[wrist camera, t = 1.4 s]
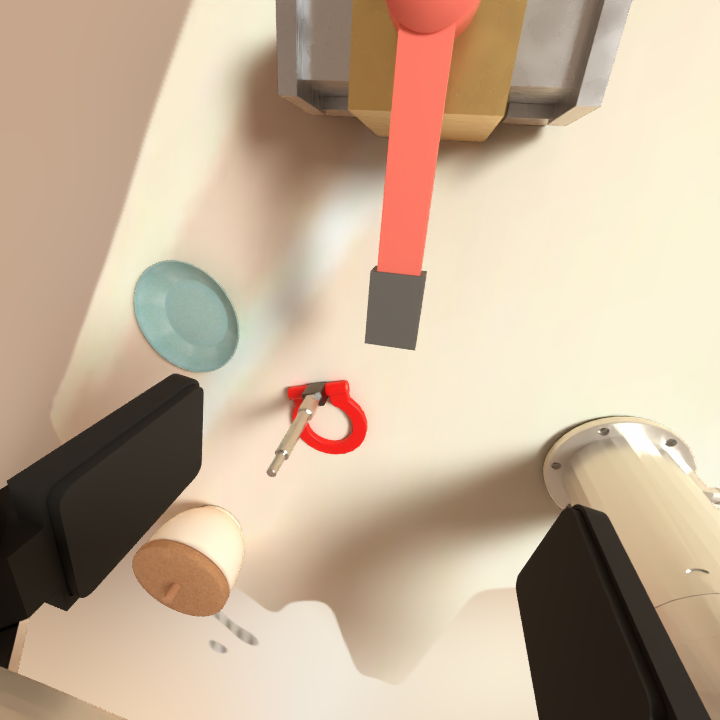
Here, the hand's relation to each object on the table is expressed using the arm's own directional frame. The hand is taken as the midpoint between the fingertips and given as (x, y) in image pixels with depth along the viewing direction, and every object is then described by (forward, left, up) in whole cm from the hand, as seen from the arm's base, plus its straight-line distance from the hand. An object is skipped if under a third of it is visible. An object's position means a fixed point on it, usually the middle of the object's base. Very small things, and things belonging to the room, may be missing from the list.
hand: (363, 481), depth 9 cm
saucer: (+23, +7, -26) cm, 35 cm away
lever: (+1, -8, -13) cm, 15 cm away
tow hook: (+8, +17, -26) cm, 32 cm away
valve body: (+1, -14, -25) cm, 29 cm away
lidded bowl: (+24, +39, -26) cm, 52 cm away
